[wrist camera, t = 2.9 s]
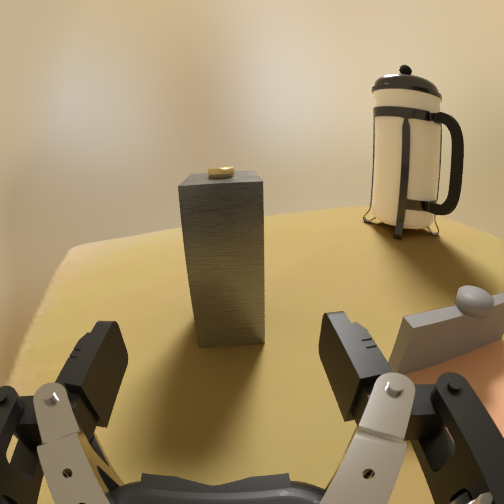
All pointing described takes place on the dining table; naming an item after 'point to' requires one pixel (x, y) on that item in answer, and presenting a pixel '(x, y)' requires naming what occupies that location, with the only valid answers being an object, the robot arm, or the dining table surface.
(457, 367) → the dock
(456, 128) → the coffee press
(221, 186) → the block
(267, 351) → the dining table surface
